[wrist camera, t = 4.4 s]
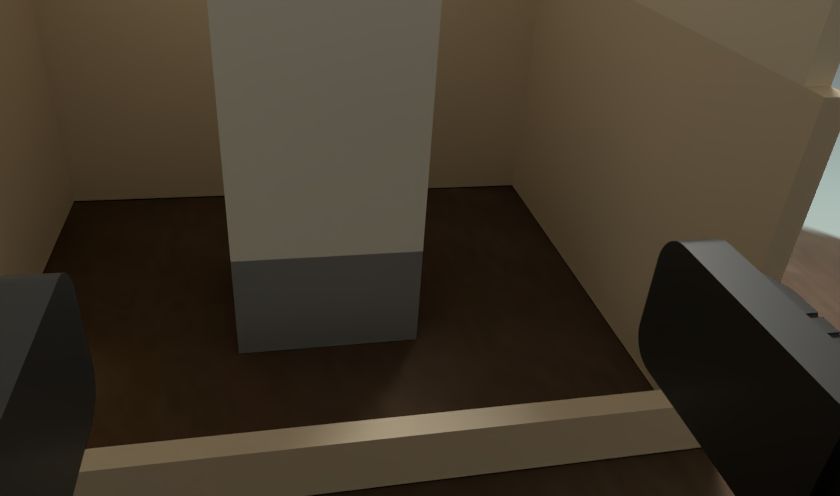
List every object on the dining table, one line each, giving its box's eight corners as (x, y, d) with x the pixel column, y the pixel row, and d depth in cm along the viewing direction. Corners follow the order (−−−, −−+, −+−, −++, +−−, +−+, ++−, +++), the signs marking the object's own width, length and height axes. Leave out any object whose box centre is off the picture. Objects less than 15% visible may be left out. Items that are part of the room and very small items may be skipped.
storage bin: (-110, 546, 14) (-526, -266, 7) (60, 194, 27) (-34, -221, 20) (716, 445, 18) (951, -154, 11) (520, 178, 30) (574, -176, 24)
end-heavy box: (238, 353, 20) (193, -142, 13) (240, 257, 24) (206, -155, 17) (416, 339, 21) (451, -128, 14) (388, 249, 25) (406, -143, 18)
